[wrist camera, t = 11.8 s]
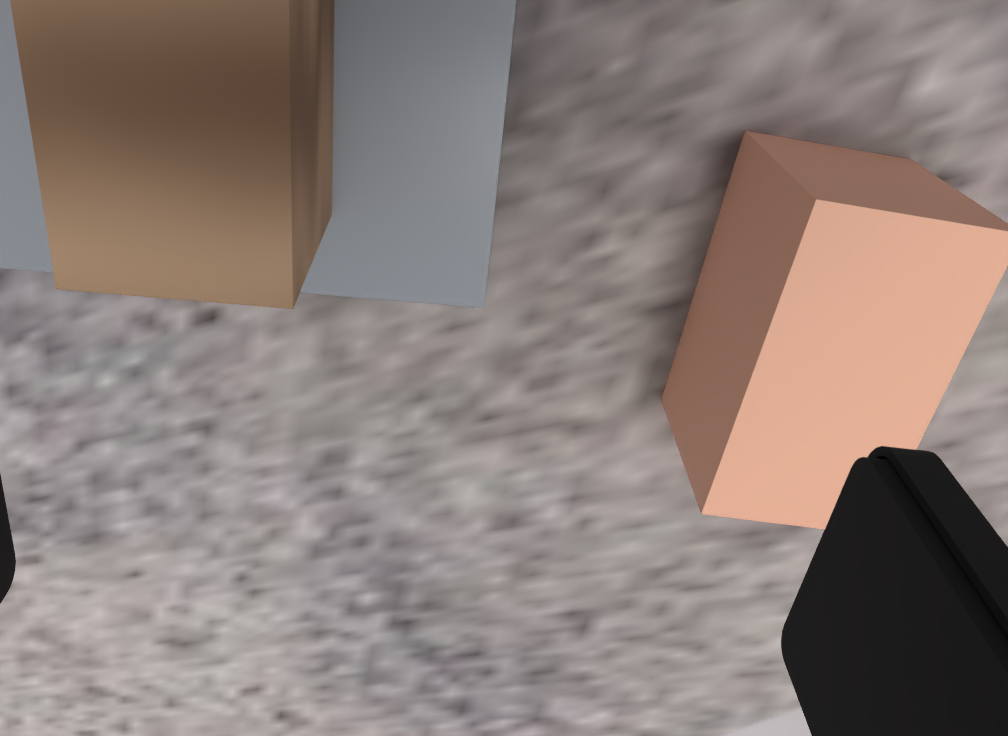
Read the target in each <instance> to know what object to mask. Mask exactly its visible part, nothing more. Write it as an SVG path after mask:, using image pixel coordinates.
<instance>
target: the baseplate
mask: <svg viewBox="0 0 1008 736" xmlns="http://www.w3.org/2000/svg"><path fill="white" fill-rule="evenodd" d="M516 1H517V0H335V3H334V92H333V181H332V216H331V218H330V221H329V223H328V226H327V228H326V230H325V233H324V235H323V238H322V240H321V242H320V245H319V247H318V250H317V252H316V255H315V257H314V259H313V262H312V264H311V267H310V269H309V271H308V274H307V276H306V279H305V281H304V283H303V286H302V288H301V291H300V293H309V294H321V295H333V296H345V297H357V298H369V299H381V300H393V301H405V302H417V303H430V304H442V305H454V306H466V307H478V308H484V307H485V297H486V288H487V278H488V269H489V259H490V250H491V240H492V230H493V221H494V211H495V202H496V192H497V183H498V173H499V164H500V154H501V145H502V135H503V126H504V116H505V106H506V97H507V87H508V78H509V68H510V59H511V49H512V40H513V30H514V21H515V11H516ZM0 268H7V269H19V270H31V271H43V272H53V267H52V260H51V254H50V248H49V242H48V235H47V229H46V223H45V216H44V210H43V204H42V198H41V191H40V185H39V179H38V173H37V166H36V160H35V154H34V148H33V141H32V135H31V129H30V123H29V116H28V110H27V104H26V98H25V91H24V85H23V79H22V72H21V66H20V60H19V54H18V47H17V41H16V35H15V29H14V22H13V16H12V10H11V4H10V0H0Z"/></svg>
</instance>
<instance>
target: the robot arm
mask: <svg viewBox="0 0 1008 736" xmlns="http://www.w3.org/2000/svg"><path fill="white" fill-rule="evenodd" d="M15 564H16V560H15V552H14V546H13V541H12V535H11V530H10V524H9V519H8V513H7V508H6V503H5V497H4V492H3V486H2V481H1V475H0V603H1V602H2V600H3V599H4V597H5V596H6V594H7V592H8V590H9V588H10V586H11V583H12V581H13V577H14V573H15ZM781 648H782V655H783V659H784V662H785V665H786V668H787V670H788V673H789V676H790V678H791V681H792V684H793V686H794V689H795V692H796V694H797V697H798V700H799V702H800V705H801V708H802V710H803V713H804V716H805V718H806V721H807V724H808V726H809V729H810V732H811V734H812V736H1008V547H1007V546H1006V544H1005V543H1004V542H1003V541H1002V539H1001V538H1000V537H999V535H998V534H997V533H996V531H995V530H994V529H993V527H992V526H991V525H990V523H989V522H988V521H987V519H986V518H985V517H984V516H983V514H982V513H981V512H980V510H979V509H978V508H977V506H976V505H975V504H974V502H973V501H972V500H971V498H970V497H969V496H968V494H967V493H966V492H965V491H964V489H963V488H962V487H961V485H960V484H959V483H958V481H957V480H956V479H955V477H954V476H953V475H952V473H951V472H950V471H949V469H948V468H947V467H946V466H945V464H944V463H943V462H942V460H941V459H940V458H939V457H938V456H937V455H936V454H935V453H933V452H929V451H923V450H914V449H905V448H896V447H887V446H880V447H877V448H875V449H874V450H873V451H872V452H871V453H870V454H869V456H868V457H861V458H858V459H857V460H856V461H855V462H854V464H853V465H852V467H851V469H850V472H849V474H848V476H847V479H846V481H845V483H844V486H843V488H842V490H841V493H840V495H839V497H838V500H837V502H836V504H835V507H834V509H833V512H832V514H831V516H830V519H829V521H828V523H827V526H826V528H825V530H824V533H823V535H822V537H821V540H820V542H819V544H818V547H817V549H816V551H815V554H814V556H813V559H812V561H811V563H810V566H809V568H808V570H807V573H806V575H805V577H804V580H803V582H802V584H801V587H800V589H799V591H798V594H797V596H796V598H795V601H794V603H793V605H792V608H791V610H790V613H789V615H788V617H787V620H786V622H785V624H784V627H783V631H782V638H781Z"/></svg>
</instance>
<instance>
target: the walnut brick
mask: <svg viewBox="0 0 1008 736" xmlns="http://www.w3.org/2000/svg"><path fill="white" fill-rule="evenodd" d="M334 3H335V0H10V4H11V10H12V16H13V22H14V29H15V35H16V41H17V47H18V54H19V60H20V66H21V72H22V79H23V85H24V91H25V98H26V104H27V110H28V116H29V123H30V129H31V135H32V141H33V148H34V154H35V160H36V166H37V173H38V179H39V185H40V191H41V198H42V204H43V210H44V216H45V223H46V229H47V235H48V242H49V248H50V254H51V260H52V267H53V273H54V279H55V285H56V289H60V290H72V291H84V292H96V293H108V294H120V295H132V296H144V297H156V298H168V299H180V300H192V301H204V302H216V303H228V304H240V305H252V306H264V307H276V308H287V309H293V308H294V305H295V303H296V300H297V298H298V296H299V293H300V291H301V288H302V286H303V283H304V281H305V279H306V276H307V274H308V271H309V269H310V267H311V264H312V262H313V259H314V257H315V255H316V252H317V250H318V247H319V245H320V242H321V240H322V238H323V235H324V233H325V230H326V228H327V226H328V223H329V221H330V218H331V216H332V181H333V92H334Z"/></svg>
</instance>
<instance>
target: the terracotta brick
mask: <svg viewBox="0 0 1008 736" xmlns="http://www.w3.org/2000/svg"><path fill="white" fill-rule="evenodd" d="M1007 265H1008V224H1007V223H1006V222H1004V221H1003V220H1001V219H1000V218H998V217H997V216H995V215H994V214H992V213H991V212H989V211H988V210H986V209H985V208H983V207H982V206H980V205H979V204H977V203H976V202H974V201H973V200H971V199H970V198H968V197H967V196H965V195H964V194H962V193H961V192H959V191H958V190H956V189H955V188H953V187H952V186H950V185H949V184H947V183H946V182H944V181H943V180H941V179H940V178H938V177H937V176H935V175H934V174H932V173H931V172H929V171H928V170H926V169H925V168H923V167H922V166H920V165H919V164H917V163H916V162H914V161H913V160H911V159H906V158H900V157H894V156H889V155H883V154H877V153H871V152H866V151H860V150H854V149H849V148H843V147H837V146H831V145H826V144H820V143H814V142H808V141H803V140H797V139H791V138H786V137H780V136H774V135H768V134H763V133H757V132H751V131H745V132H744V135H743V138H742V141H741V145H740V148H739V151H738V154H737V158H736V161H735V164H734V167H733V170H732V174H731V177H730V180H729V183H728V186H727V190H726V193H725V196H724V199H723V203H722V206H721V209H720V212H719V215H718V219H717V222H716V225H715V228H714V232H713V235H712V238H711V241H710V244H709V248H708V251H707V254H706V257H705V260H704V264H703V267H702V270H701V273H700V277H699V280H698V283H697V286H696V289H695V293H694V296H693V299H692V302H691V306H690V309H689V312H688V315H687V318H686V322H685V325H684V328H683V331H682V334H681V338H680V341H679V344H678V347H677V351H676V354H675V357H674V360H673V363H672V367H671V370H670V373H669V376H668V380H667V383H666V386H665V389H664V392H663V396H662V399H661V400H662V403H663V406H664V409H665V412H666V415H667V418H668V420H669V423H670V426H671V429H672V432H673V435H674V437H675V440H676V443H677V446H678V449H679V452H680V455H681V457H682V460H683V463H684V466H685V469H686V472H687V474H688V477H689V480H690V483H691V486H692V489H693V492H694V494H695V497H696V500H697V503H698V506H699V509H700V511H701V514H705V515H714V516H722V517H730V518H738V519H746V520H754V521H762V522H771V523H779V524H787V525H795V526H803V527H811V528H820V529H825V528H826V526H827V523H828V521H829V519H830V516H831V514H832V512H833V509H834V507H835V504H836V502H837V500H838V497H839V495H840V493H841V490H842V488H843V486H844V483H845V481H846V479H847V476H848V474H849V472H850V469H851V467H852V465H853V464H854V462H855V461H856V460H857V459H858V458H861V457H868V456H869V454H870V453H871V452H872V451H873V450H874V449H875V448H877V447H880V446H887V447H896V448H905V449H914V450H916V449H917V447H918V445H919V443H920V441H921V439H922V437H923V435H924V433H925V431H926V429H927V427H928V425H929V423H930V421H931V419H932V417H933V415H934V413H935V411H936V409H937V407H938V405H939V402H940V400H941V398H942V396H943V394H944V392H945V390H946V388H947V386H948V384H949V382H950V380H951V378H952V376H953V374H954V372H955V370H956V368H957V366H958V364H959V362H960V360H961V358H962V356H963V354H964V352H965V350H966V348H967V346H968V344H969V342H970V340H971V338H972V336H973V334H974V332H975V330H976V328H977V326H978V324H979V322H980V320H981V318H982V316H983V314H984V312H985V310H986V308H987V306H988V304H989V302H990V300H991V298H992V296H993V294H994V292H995V290H996V288H997V286H998V284H999V282H1000V280H1001V278H1002V275H1003V273H1004V271H1005V269H1006V267H1007Z"/></svg>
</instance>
